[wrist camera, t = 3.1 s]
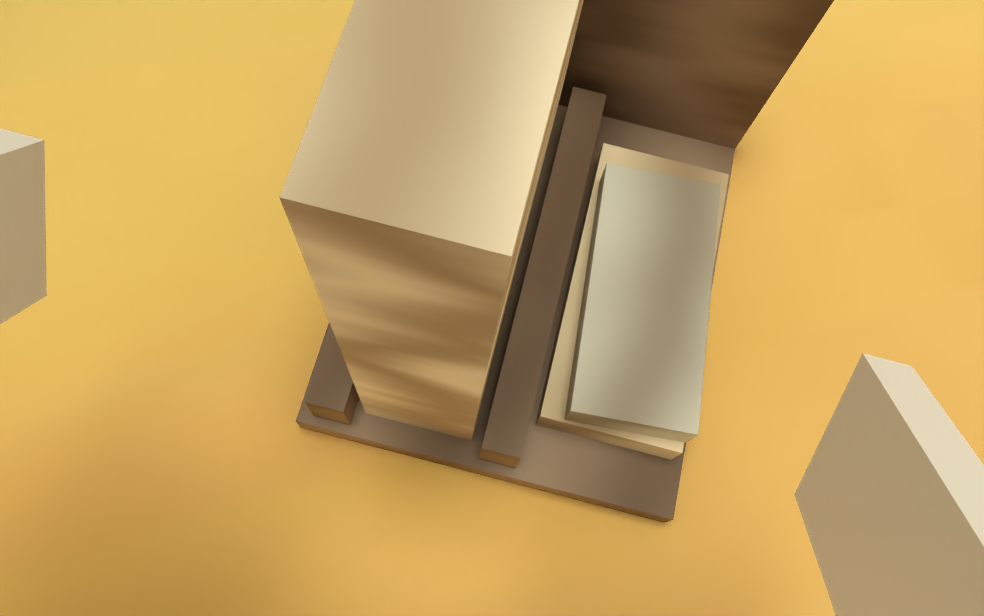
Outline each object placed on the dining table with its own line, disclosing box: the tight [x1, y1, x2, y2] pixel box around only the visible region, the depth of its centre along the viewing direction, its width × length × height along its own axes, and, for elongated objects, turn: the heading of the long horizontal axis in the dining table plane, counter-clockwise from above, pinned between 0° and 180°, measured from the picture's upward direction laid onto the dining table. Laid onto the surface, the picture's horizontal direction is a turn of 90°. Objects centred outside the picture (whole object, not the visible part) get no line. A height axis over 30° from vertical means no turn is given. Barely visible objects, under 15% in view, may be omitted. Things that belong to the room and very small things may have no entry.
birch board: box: [280, 0, 584, 441], centre depth 21 cm, size 4×12×15 cm, turn 166°
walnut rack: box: [296, 0, 834, 522], centre depth 25 cm, size 12×15×9 cm
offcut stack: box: [536, 143, 729, 460], centre depth 27 cm, size 4×10×3 cm, turn 166°
